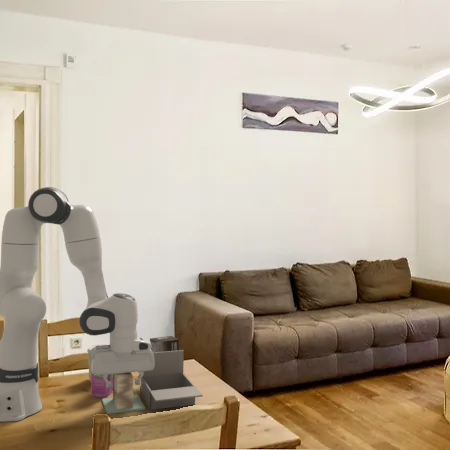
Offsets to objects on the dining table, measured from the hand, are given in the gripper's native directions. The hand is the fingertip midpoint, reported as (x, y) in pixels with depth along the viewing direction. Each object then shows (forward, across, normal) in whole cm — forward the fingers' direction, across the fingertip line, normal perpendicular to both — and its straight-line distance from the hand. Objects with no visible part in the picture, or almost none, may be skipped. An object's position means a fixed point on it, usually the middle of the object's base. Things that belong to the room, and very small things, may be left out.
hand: (123, 385), depth 177 cm
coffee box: (+7, +18, +18) cm, 26 cm away
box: (+7, -4, +14) cm, 16 cm away
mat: (+6, 0, 0) cm, 6 cm away
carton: (+6, +15, -3) cm, 17 cm away
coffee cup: (+7, -4, +27) cm, 28 cm away
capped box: (+6, 0, 0) cm, 6 cm away
